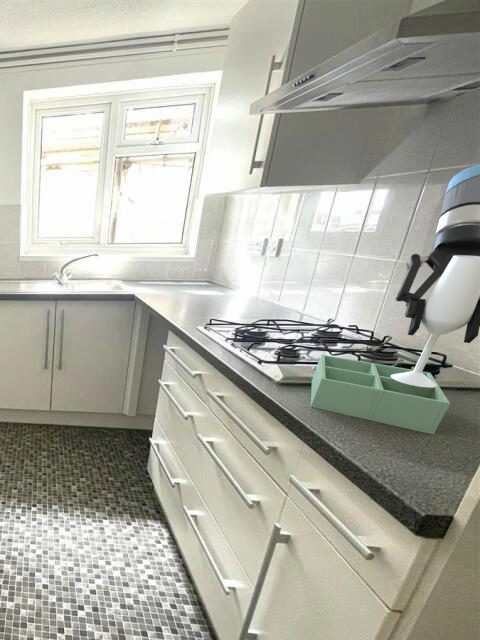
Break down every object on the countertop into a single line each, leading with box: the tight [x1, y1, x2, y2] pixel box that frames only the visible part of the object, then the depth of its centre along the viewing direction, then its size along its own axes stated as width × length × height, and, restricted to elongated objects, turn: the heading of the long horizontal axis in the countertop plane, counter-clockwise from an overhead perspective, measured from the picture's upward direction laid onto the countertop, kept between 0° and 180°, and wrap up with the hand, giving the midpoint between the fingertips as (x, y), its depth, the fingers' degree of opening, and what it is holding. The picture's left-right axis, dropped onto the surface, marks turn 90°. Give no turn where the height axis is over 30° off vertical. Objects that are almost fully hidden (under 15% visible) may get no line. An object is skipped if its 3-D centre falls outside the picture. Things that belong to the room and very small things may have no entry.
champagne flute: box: [391, 255, 480, 387], centre depth 79 cm, size 7×7×24 cm
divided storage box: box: [310, 354, 451, 436], centre depth 91 cm, size 19×19×7 cm
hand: (441, 335), depth 77 cm, fingers closed on champagne flute, 7 cm apart
